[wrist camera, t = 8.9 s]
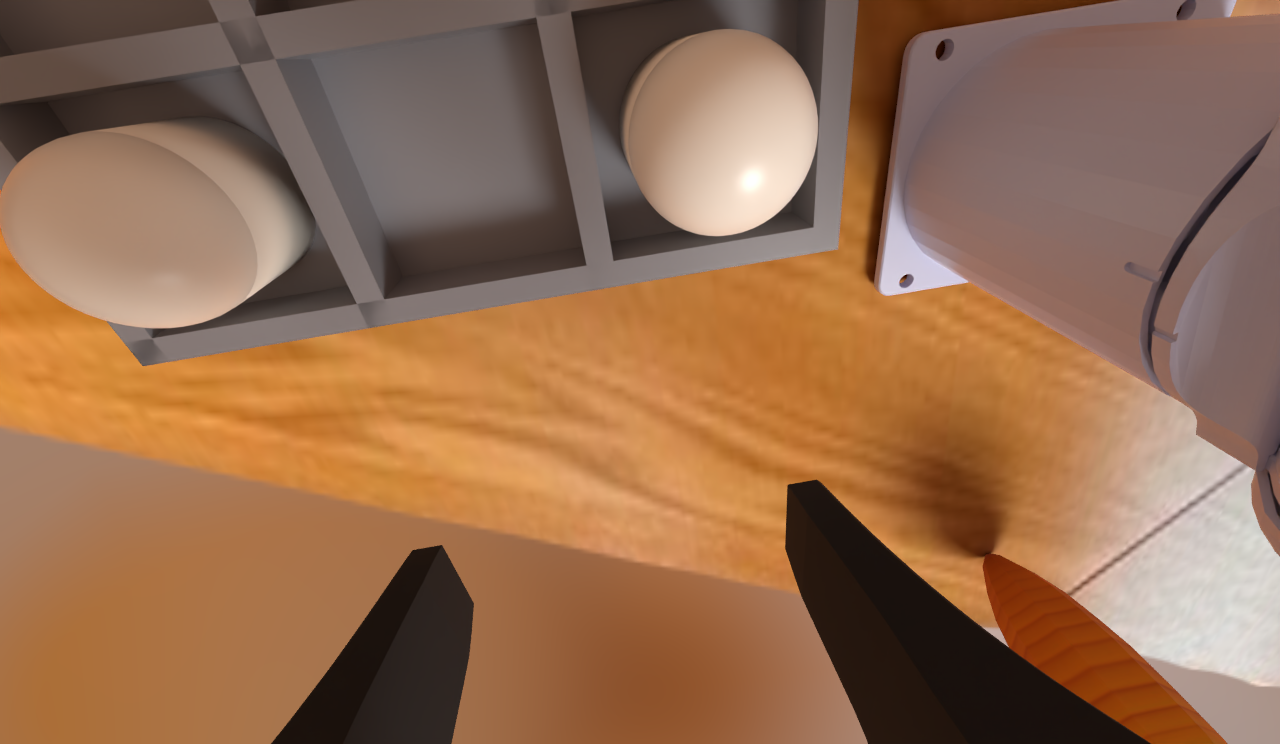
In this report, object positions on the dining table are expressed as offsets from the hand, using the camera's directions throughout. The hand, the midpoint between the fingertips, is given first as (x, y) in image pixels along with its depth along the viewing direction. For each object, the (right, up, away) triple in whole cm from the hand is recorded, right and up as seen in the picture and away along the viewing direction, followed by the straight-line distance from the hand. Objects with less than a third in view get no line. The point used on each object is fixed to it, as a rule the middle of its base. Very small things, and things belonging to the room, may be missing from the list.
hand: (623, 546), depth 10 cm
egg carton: (-5, +13, +2) cm, 14 cm away
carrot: (+20, -7, +18) cm, 28 cm away
